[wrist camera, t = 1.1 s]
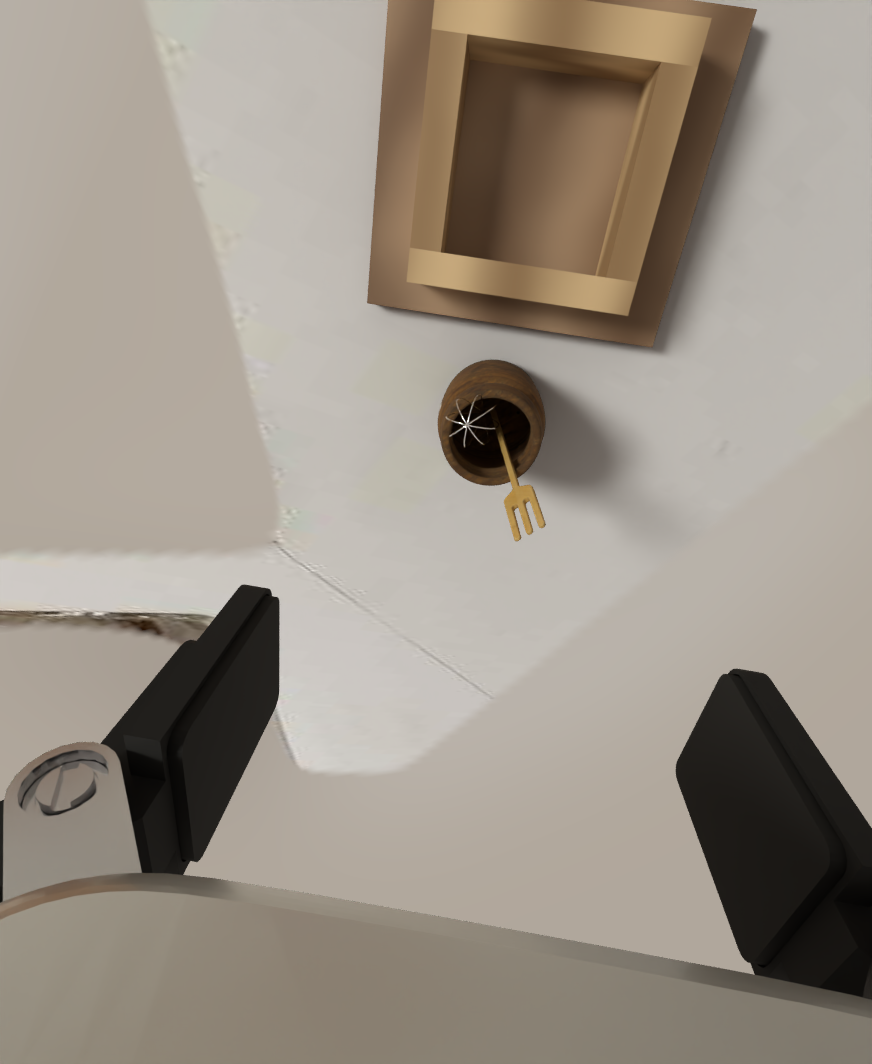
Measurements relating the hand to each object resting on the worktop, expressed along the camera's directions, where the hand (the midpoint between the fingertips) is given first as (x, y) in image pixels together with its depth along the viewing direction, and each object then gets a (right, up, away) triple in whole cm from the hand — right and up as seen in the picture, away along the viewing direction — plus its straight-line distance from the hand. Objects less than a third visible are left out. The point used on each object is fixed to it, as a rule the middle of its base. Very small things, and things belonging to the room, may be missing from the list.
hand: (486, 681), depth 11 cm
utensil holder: (+2, +11, +22) cm, 24 cm away
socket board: (+4, +21, +16) cm, 27 cm away
